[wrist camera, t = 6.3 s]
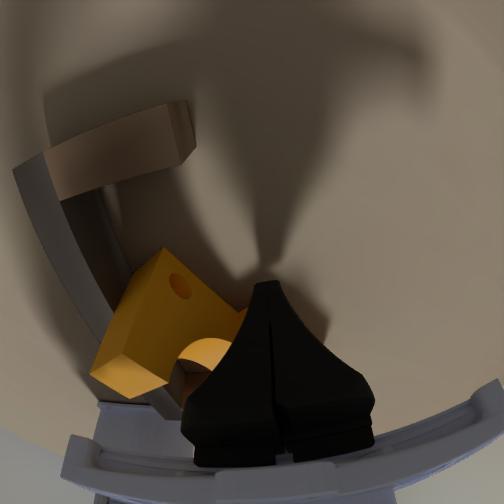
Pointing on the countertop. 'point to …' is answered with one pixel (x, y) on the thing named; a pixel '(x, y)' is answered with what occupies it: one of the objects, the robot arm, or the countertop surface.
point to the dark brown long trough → (104, 217)
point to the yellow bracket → (163, 327)
